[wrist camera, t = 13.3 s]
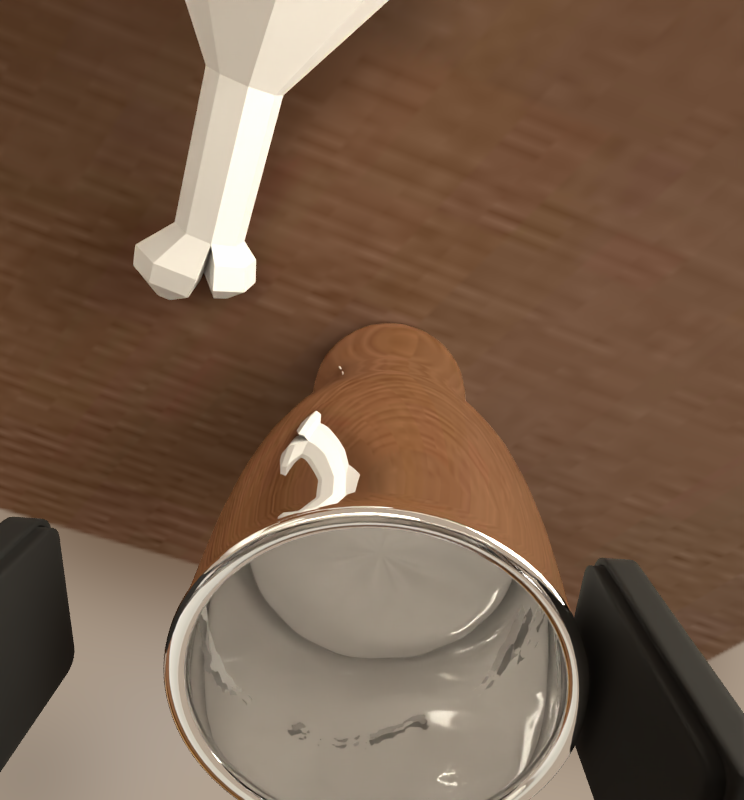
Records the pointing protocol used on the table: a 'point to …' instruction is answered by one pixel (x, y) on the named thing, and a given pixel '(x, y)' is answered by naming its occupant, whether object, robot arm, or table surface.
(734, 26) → the table surface
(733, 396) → the table surface
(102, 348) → the table surface
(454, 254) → the table surface
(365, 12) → the chicken leg
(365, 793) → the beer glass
